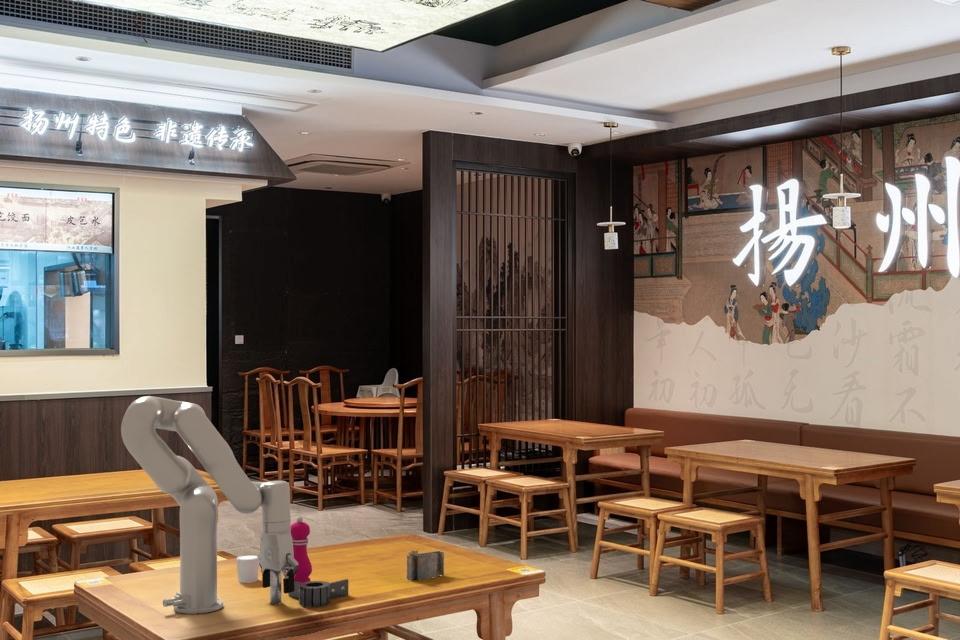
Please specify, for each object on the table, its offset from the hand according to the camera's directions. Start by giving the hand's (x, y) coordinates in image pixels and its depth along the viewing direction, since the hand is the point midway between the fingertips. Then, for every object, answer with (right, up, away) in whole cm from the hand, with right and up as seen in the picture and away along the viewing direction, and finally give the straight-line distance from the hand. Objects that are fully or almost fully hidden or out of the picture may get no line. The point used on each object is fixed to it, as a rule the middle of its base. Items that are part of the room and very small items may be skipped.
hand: (278, 589), depth 264 cm
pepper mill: (+2, -4, +19) cm, 19 cm away
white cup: (-14, -4, +25) cm, 29 cm away
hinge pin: (-1, -4, 0) cm, 4 cm away
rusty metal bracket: (+39, -5, +27) cm, 48 cm away
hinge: (+10, -4, +5) cm, 11 cm away
